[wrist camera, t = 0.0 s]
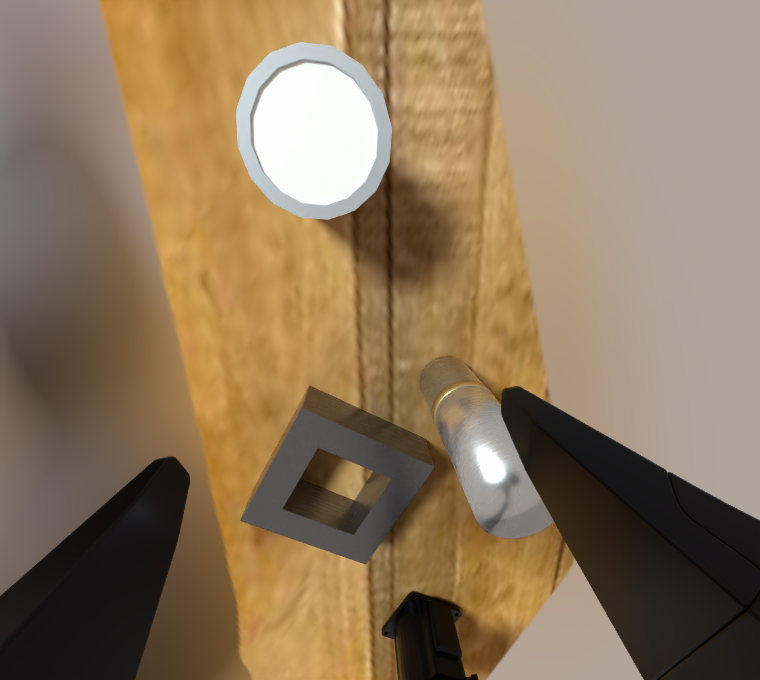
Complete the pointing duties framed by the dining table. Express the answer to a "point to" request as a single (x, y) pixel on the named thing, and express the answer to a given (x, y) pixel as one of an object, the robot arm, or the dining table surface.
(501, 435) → the grey rounded cylinder
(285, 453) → the collar block
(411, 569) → the dining table surface
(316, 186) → the white cylinder
